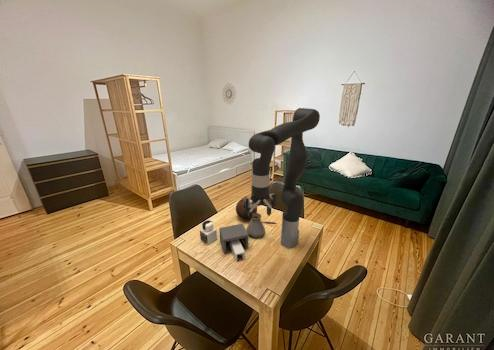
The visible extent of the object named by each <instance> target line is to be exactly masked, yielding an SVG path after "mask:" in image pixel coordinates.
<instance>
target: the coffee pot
mask: <svg viewBox="0 0 494 350" xmlns="http://www.w3.org/2000/svg"><path fill="white" fill-rule="evenodd" d="M264 224H267V225H274V227H277V222H274V221H262V215H261V213H258V212H257V213H253V214H252V219H250V222H249V223H248V226H247V227H246V231H247V233H248V236H251V237H253V238H260V237H261V236H263V235H264V233H265V232H266V228H265V226H264Z"/></svg>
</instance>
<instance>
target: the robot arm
mask: <svg viewBox="0 0 494 350" xmlns="http://www.w3.org/2000/svg"><path fill="white" fill-rule="evenodd" d="M320 118H321V116H320V112H319V110H317V109H314V108H305V107H299V108H296V110H295V111H294V113H293V116H292V121H287V122H284V123H281V124H278V125H277V126H274V127H272V128H271V129H268V130H264V131H261V132H257V133H255V134H253V135H251V137H250V139H249V140H248V148H249V149H250V151H252V152H254V153H256V154H257V153H258V154H260V157H257V158H255V159H253V160H252V167H251V168H252V169H251V170H252V173H251V195H250V196H249V197H247V196H244V197H243V198H244V209H245V211H246V212H247V211H248V217H249V218H250V219H249V220H251V219H252V210H253V209H254V208H255V207H256V206H257V207H260V206H265V205H266V215H267V216H268V217H270V216H271V214H272V208H274V207H276V205H277V204H276V203H277V201H276V199H277V198H276V197H277V195H276V194H275V193H274V192H270V184H271V180H270V170H271V169H270V165H271V161H272V159H273V158H272V157H273V156H274V152H275V149H276V146H278V145H280V144H283V143H284V142H285V141H287V140H288V139H291V142H290V149H289V155H288V161H287V167H286V174H285V179H284V183H283V184H284V185H283V187H282V192H281V196H280V197H281V202H282V203H283V204H284V205H285V206H286V207H287V209H285V210H284V211H282V217H281V231H280V232H281V233H280V245H282V246H283V247H284V248H287V249H292V248H293V249H294V248H295V247H296V246H297V245H299V238H300V229H299V226H300V225H299V224H300V218H301V215H302V212H303V207H304V198H303V195H301V194H300V193H299V192H298V191H297V190H296V189H297V183H298V180H299V179H300V177H301V176H302V175H303V173H305V171H306V168H307V163H308V151H307V149H306V145H305V143H304V140H303V133H305V132H308V131H311V130H314V129H315V128H316V127H317V126H318V125H319V122H320ZM269 199H270V203H269ZM250 200H252V201H251V203H250V205H249V207H248V203H249V202H250ZM253 204H254V205H253Z"/></svg>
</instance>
